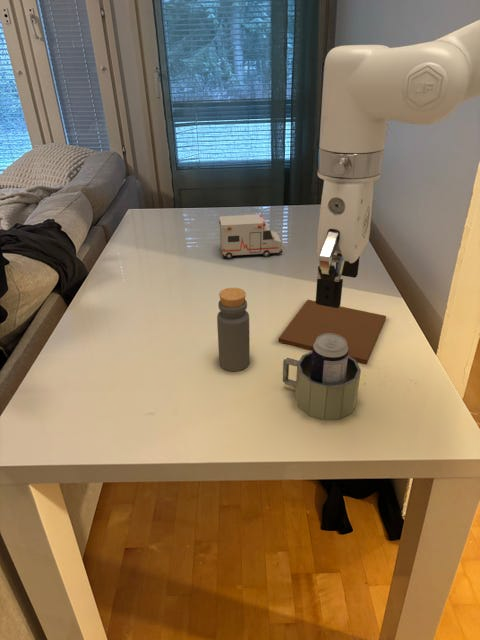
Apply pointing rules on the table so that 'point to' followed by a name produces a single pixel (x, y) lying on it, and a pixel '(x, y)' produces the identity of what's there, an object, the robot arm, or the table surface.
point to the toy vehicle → (247, 236)
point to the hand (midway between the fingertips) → (337, 289)
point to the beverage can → (329, 359)
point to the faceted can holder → (323, 390)
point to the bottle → (233, 330)
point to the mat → (335, 328)
